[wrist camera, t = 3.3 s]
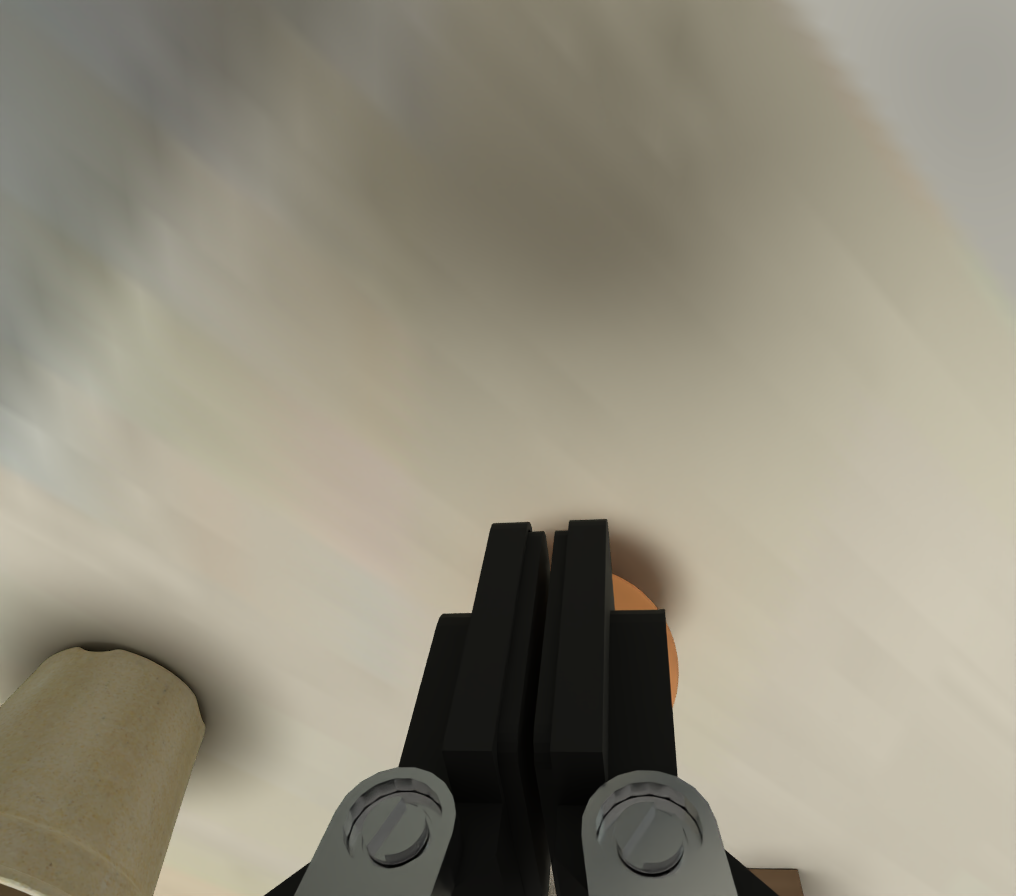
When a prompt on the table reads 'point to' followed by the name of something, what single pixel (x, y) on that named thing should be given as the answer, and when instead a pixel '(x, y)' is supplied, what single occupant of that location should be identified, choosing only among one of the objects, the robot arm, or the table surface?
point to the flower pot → (93, 774)
